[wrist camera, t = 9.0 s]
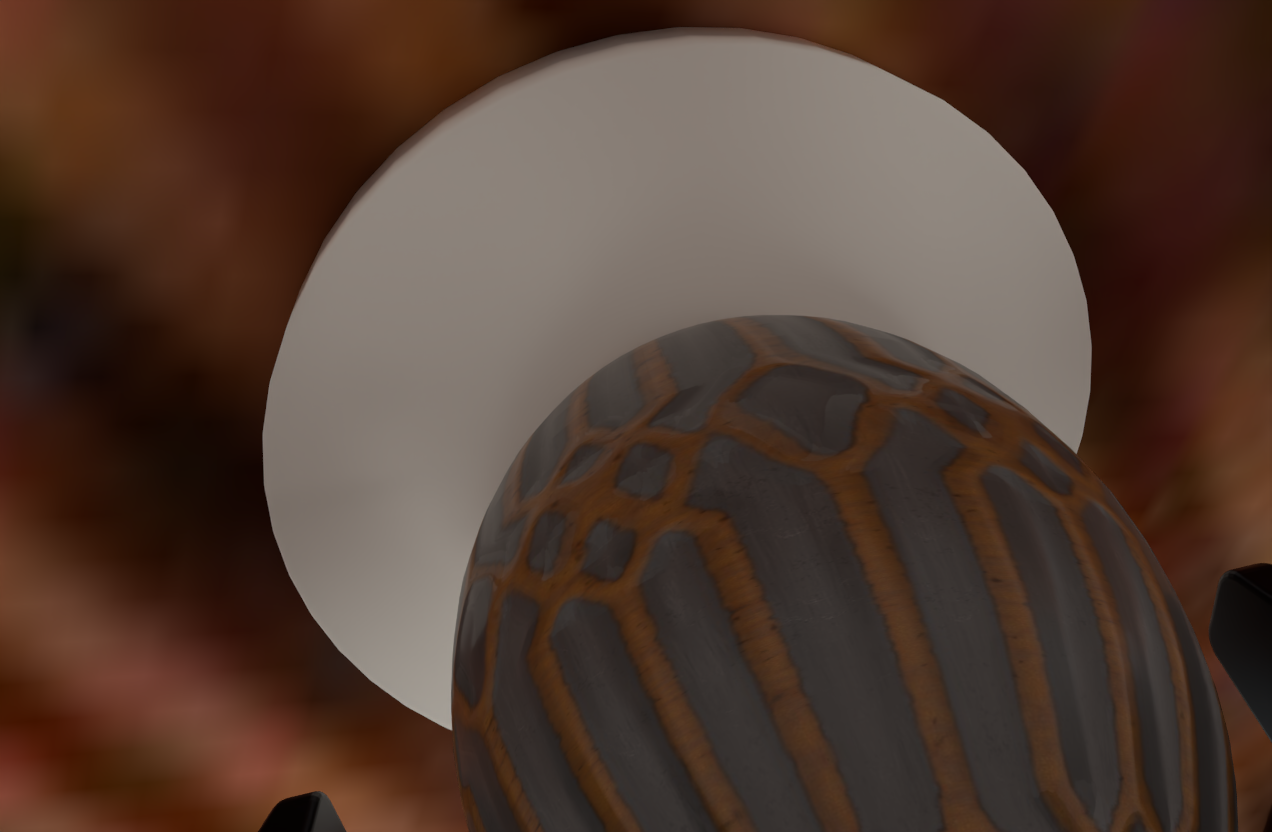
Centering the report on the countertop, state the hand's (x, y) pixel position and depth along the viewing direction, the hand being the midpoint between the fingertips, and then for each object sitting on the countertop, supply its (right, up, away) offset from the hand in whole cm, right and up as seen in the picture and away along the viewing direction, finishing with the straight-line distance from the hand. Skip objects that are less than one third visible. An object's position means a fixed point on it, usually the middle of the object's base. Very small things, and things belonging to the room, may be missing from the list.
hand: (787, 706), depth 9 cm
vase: (0, +2, +4) cm, 4 cm away
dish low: (-1, +3, +4) cm, 5 cm away
